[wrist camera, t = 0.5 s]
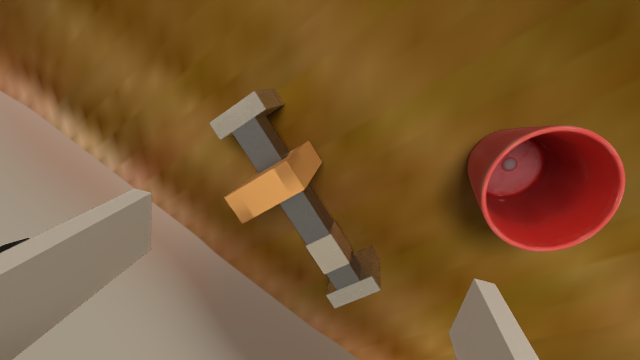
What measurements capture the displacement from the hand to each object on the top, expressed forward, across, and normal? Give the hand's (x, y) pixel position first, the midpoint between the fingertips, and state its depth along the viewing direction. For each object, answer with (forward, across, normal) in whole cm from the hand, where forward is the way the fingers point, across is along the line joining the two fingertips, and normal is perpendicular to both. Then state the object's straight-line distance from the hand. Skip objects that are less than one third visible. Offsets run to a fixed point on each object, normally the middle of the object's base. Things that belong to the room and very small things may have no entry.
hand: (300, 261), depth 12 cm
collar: (+24, -6, -5) cm, 25 cm away
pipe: (+26, -3, -8) cm, 27 cm away
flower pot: (+26, +18, +1) cm, 31 cm away
